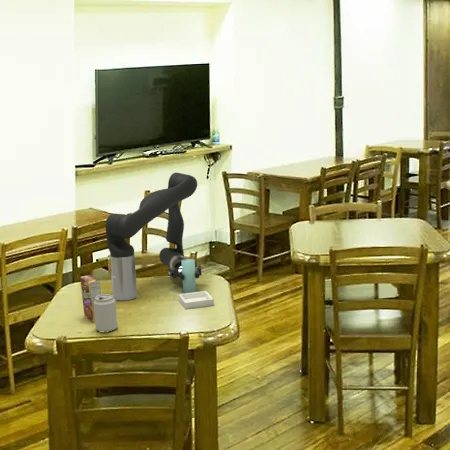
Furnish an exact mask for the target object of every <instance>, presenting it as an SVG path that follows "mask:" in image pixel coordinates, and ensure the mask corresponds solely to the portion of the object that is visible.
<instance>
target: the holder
mask: <svg viewBox="0 0 450 450" xmlns="http://www.w3.org/2000/svg"><path fill="white" fill-rule="evenodd" d="M178 302H179V303H180V304H181V306H182V307H183V308H184V309H185V310H191V309H192V310H193V309H198V308H207V307H214V306H215V299H214V298H213V297H212V296H211V294H209V292H208V291H207V290H203V291H196V292H193V293H185V294H184V293H178Z"/></svg>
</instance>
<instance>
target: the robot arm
mask: <svg viewBox="0 0 450 450" xmlns="http://www.w3.org/2000/svg"><path fill="white" fill-rule="evenodd" d="M167 183H168V184H167V188H163V189H157V190H155V191H152V192H151V193H149V194H148V195H146V196H145V197H143V198H142V200H141V201H140V204H139V206H138V210H136V211H134V212H131V213H129V214H125V213H124V214H123V213H111V214H109V215H108V216H107V218H106V221H105V235H106V236H105V237H106V242H107V249H108V251H109V253H110V254H109V255H110V265H111V266H110V267H111V273H110V280H111V292H112V294H111V295H112V296H113V298H114V299H115V301H130V300H134V299H136V298H137V297H138V289H137V288H138V285H137V274H136V258H135V248H134V246H133V245H131V244H130V243H129V242H127V241H126V239H130V238H132V237H134V236H135V235H137V234H138V232H139V231H141V230H142V229H143V228H144V227H145V226H146V225H147V224H149V223H150V222H151V221H153V220H154V219H156V218H158V217H159V216H160V215H162V214H163V213H165V212H166V211H167V210H168V212H167V213H168V217H167V220H168V221H167V228H166V237H165V239H166V242H168V243H170V244H172V245H175V247H163V248H161V250H160V251H159V254H158V256H159V257H158V258H159V261H160V263H161V264H163V266H166V267H169V268H168V270H167V271H168V272H167V273H168V274H167V275H168V276H169V277H170V278H172V279H180V280H181V281H183V280H184V274H183V273H182V262H181V261H182V260H184V259H187V258H186V257H185V253H184V247H183V236H184V229H185V222H184V218H183V215H182V211H181V209H180V205H179V203H180V202H181V201H184V200H185V199H188V198H190V197H191V196H192V195H193V194H195V192H196V190H197V189H198V180H197V179H196V177H194V176H193V175H190V174H185V173H181V172H173V173H171V175H170V177H169V179H168V182H167ZM195 275H196V279H199V278H200V277H201V276H202V266H201V265H197V266H196V267H195Z"/></svg>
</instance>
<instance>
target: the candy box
mask: <svg viewBox="0 0 450 450" xmlns="http://www.w3.org/2000/svg"><path fill="white" fill-rule="evenodd" d="M79 277H80V289H81V297H82V298H81V299H82V307H83V316H84V317H85V318H86V317H87V319H88V320H89V319H90V320H89V321H90V322H92V321H93V322H95V315H94V301H95V297H96V296H98V295H102V292H101V282H100V280H99V279H98V278H95V277H94V276H92V275H90V274H88V275H84V276H79ZM93 322H92V323H93Z"/></svg>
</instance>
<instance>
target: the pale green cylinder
mask: <svg viewBox="0 0 450 450" xmlns="http://www.w3.org/2000/svg"><path fill="white" fill-rule="evenodd" d="M181 262H182V273H183V274H184V280H182V290H183V292H182V294H185V293H193V292H197V278H196V275H195V268H196V260H195V259H194V258H186V259H184V260H182V261H181Z"/></svg>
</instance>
